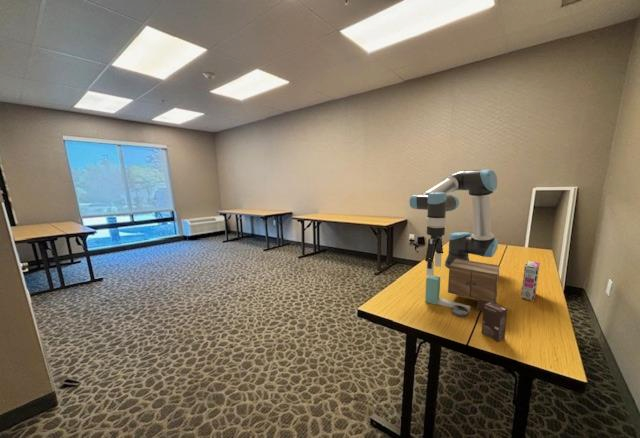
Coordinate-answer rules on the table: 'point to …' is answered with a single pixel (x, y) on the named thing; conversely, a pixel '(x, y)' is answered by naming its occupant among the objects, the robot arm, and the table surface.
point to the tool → (434, 292)
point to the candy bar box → (530, 280)
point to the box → (494, 321)
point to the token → (459, 311)
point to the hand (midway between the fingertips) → (433, 270)
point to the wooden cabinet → (474, 281)
